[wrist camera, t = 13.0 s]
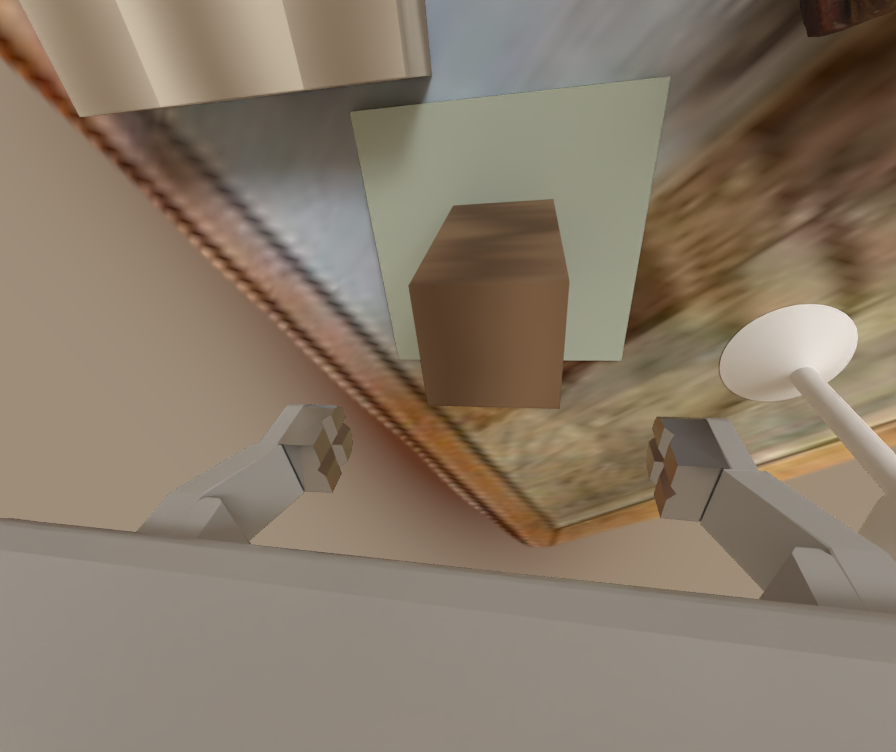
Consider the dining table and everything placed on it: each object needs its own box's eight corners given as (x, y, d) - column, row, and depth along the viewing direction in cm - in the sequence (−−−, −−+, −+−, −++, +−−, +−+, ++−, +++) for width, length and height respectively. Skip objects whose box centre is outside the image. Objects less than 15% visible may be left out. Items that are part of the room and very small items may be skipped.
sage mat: (667, 76, 17) (671, 76, 17) (619, 356, 25) (621, 360, 25) (353, 111, 20) (349, 111, 19) (400, 355, 28) (398, 359, 28)
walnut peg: (553, 199, 20) (569, 281, 12) (548, 293, 23) (559, 408, 15) (453, 205, 21) (408, 285, 13) (460, 295, 24) (427, 405, 16)
